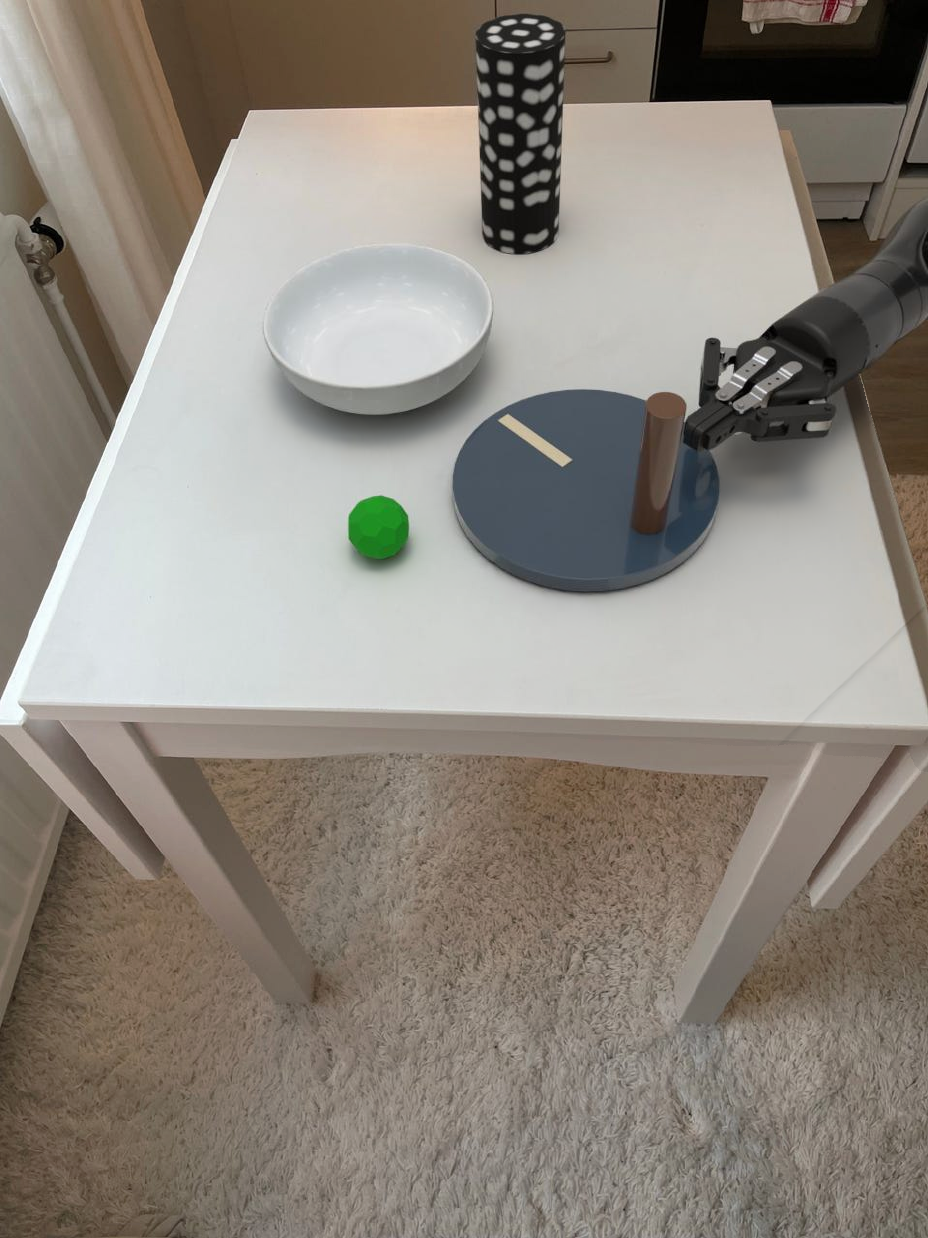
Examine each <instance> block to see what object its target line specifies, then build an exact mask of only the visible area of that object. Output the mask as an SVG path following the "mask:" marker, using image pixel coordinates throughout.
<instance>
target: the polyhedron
mask: <svg viewBox="0 0 928 1238" xmlns="http://www.w3.org/2000/svg"><path fill="white" fill-rule="evenodd" d="M347 520H348V521H347V522H348V523H347V524H348V527H347V528H348V529H347V532H348V534H347V535H348V541H349V542H350V543H351V544H352V546H353V547H354V548H355V550H357V551H358V552H359V553H360V554H361V556H364V557H368V558H371V559H374V560H379V559H380V560H381V559H386V558H389V557H393V556H395V555H397V553H398V552H400V550H401V549H402V547H403V546H404V545H405V543H406V542H407V540H408V539H409V537H410V535H409V533H410V522H409V514H408V513H407V512H406V510H405V509H404V507H403V506H402V505H401V503H399V502H397V500H395V499H394V498H391V497H388V496H385V495H382V494H381V495H374V496H370V497H367V498H364V499H362V500H361V499H360V501H359V502H358V503H357V504H356V505H355V506H354V507H353V509H352V510H351V511H350V512H349V514H348V519H347Z"/></svg>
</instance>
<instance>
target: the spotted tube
mask: <svg viewBox="0 0 928 1238" xmlns="http://www.w3.org/2000/svg"><path fill="white" fill-rule="evenodd" d="M566 34H567V33H566V27H565V26H564V25H563V24H562V23H561V22H560V21H558V20H557V19H555V18H552V17H550V16H547V15H542V14H536V13H513V14H506V15H501V16H497V17H494V18H491V19H489V20H487V21H486V22H483V23H482V24H481V25H480V26H479V27H478V28H477V30H476V32H475V62H476V63H475V65H476V86H477V87H476V88H477V89H476V91H477V92H476V93H477V118H478V121H477V122H478V123H477V124H478V148H479V151H478V152H479V179H480V203H481V204H480V206H481V232H482V238H483V240H484V242H485V244H486V245H488V246H489V247H490V248H492V249H494V250H497V251H499V252H502V253H505V254H513V255H526V254H532V253H536V252H539V251H543V250H544V249H547V248H548V247H550V246H551V245H552V244H553V243H555V241H557V239H558V236H559V234H560V233H559V231H560V203H561V201H560V200H561V176H562V146H563V118H564V117H563V116H564V91H565V90H564V89H565V88H564V87H565V63H566V62H565V60H566V57H565V56H566Z"/></svg>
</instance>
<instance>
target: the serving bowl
mask: <svg viewBox="0 0 928 1238" xmlns="http://www.w3.org/2000/svg"><path fill="white" fill-rule="evenodd" d="M493 316H494V299H493V295H492V292H491V290H490V287H489V284H488V283H487V281H486V280H485V278H484V277H483V276H482V275H481V274H480V272H479V271H478V270H477V269H475V268H474V266H472V265H471V264H469V263H468V262H466V261H465V260H463V259H462V258H460V257H458V256H456V255H454V254H451V253H449V252H446V251H443V250H440V249H437V248H435V247H429V246H425V245H422V244H421V245H420V244H412V243H403V242H402V243H400V242H399V243H398V242H397V243H395V242H389V243H387V242H386V243H373V244H372V243H371V244H365V245H359V246H354V247H350V248H345V249H341V250H338V251H335V252H332V253H330V254H327V255H324V256H321V257H320V258H317V259H315V260H313V261H311V262H309V263H308V264H306V265H304V266H303V267H301V268H299V269H298V270H296V271H295V272H294V273H293V274H291V275H290V276H289V277H288V278H286V280H285V281H283V282H282V283H281V285H279V287H277V289H276V290H275V292H274V293H273V294H272V296H271V297H270V299H269V301H268V303H267V305H266V307H265V310H264V314H263V319H262V334H263V337H264V342H265V344H266V347H267V349H268V351H269V353H270V355H271V357H272V359H273V361H274V363H275V365H276V367H277V368H278V370H279V371H280V372H281V373H282V375H283V376H284V378H285V379H286V380H287V381H288V382H289V383H290V384H291V385H292V386H293V387H294V388H296V390H298V391H299V392H300V393H302V394H303V395H305V396H306V397H308V398H309V399H311V400H313V401H314V402H317V403H319V404H320V405H323V406H326V407H329V408H332V409H335V410H337V411H341V412H345V413H350V414H359V415H372V416H373V415H376V416H377V415H381V416H382V415H391V414H399V413H402V412H407V411H411V410H414V409H417V408H421V407H423V406H426V405H428V404H431V403H433V402H435V401H436V400H438V399H440V398H442V397H444V396H445V395H447V394H449V393H450V392H452V391H453V390H454V389H455V388H456V387H457V386H459V385H460V384H461V383H462V382H464V380H466V379H467V377H468V376H469V375H470V374H471V373H472V372H473V370H474V369H475V368H476V367H477V365H478V363H479V361H480V360H481V358H482V357H483V355H484V353H485V350H486V348H487V345H488V343H489V339H490V335H491V330H492V325H493V318H494V317H493Z"/></svg>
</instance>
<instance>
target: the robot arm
mask: <svg viewBox="0 0 928 1238" xmlns="http://www.w3.org/2000/svg"><path fill="white" fill-rule="evenodd" d="M927 318H928V196H927V197H924V198H922V199H920V200H918V201H917V202H915V203H914V204H912V205H911V207H909V208H908V209H907V210H906V211H905V212H904V213H903V214H902V215H901V216H900V218H898V220H897V221H896V222H895V223H894V225H893V226H892V227H891V229H890V230H889V232H888V233H887V235H886V236H885V238H884V240H883V241H882V242H881V244H880V246H879V248H878V249H877V251H876V252H875V253H874V255H873V256H872V257H871V258H869V259H868V260H867V261H866V262H865V263H863V264H862V265H861V266H859V267H858V268H857V269H855V270H854V271H853V272H850V274H848V275H847V276H845V277H844V278H842V279H839V280H838V281H836V282H834V283H831V284H830V285H829V284H828V285H827V286H826V287H824V288H822V289H820V290H819V291H818V292H816V293H815V294H813V295H812V296H810V297H809V298H807V299H806V300H804V301H803V302H801V303H800V304H799V305H797V306H796V307H795V308H793V309H792V310H790V311H789V312H787V313H786V314H784V315H783V316H782V317H780V318H778V319H777V320H775V321H774V322H773V323H772V324H771V325H770V326H768V327H767V328H766V330H765V331H764V332H763V333H761V335H760V336H759V337H757V338H755V339H751V340H746V341H743V342H741V343H740V344H739V345H738V346H737V347H727V346H724V347H723V346H721V340H720V339H719V338H717V337H707V338H706V339H705V341H704V347H703V353H702V358H701V364H700V373H699V387H698V388H699V389H698V390H699V391H698V407H699V408H698V409H697V410H695V411H693V412H692V413H691V414H689V415H688V416H687V417H686V419H685V420H684V422H685V427H684V433H683V435H684V438H683V443H684V444H686V445H687V446H689V447H690V448H692V449H693V450H695V451H697V452H698V453H699V452H701V451H702V450H704V449H706V450H709V451H711V450H713V449H716V448H717V447H719V445H721V444H722V443H724V442H725V441H726V440H728V439H729V438H730V437H732V436H733V435H736V436H737V435H741V434H742V433H745V434H749V435H750V439H751V440H752V441H753V442H755V443H765V442H766V443H767V442H780V441H781V442H782V441H791V440H792V441H795V440H806V439H820V438H825V437H827V436H828V434H829V432H830V429H831V427H832V425H833V421H834V418H835V414H836V411H837V407H836V406H835V405H834V404H833V403H830V402H827V401H828V399H829V398H830V397H832V396H833V395H835V394H836V393H837V392H839V390H841V389H842V388H844V387H845V386H847V384H849V383H850V382H852V381H853V380H854V379H856V378H857V377H858V376H859V375H861V374H862V373H863V372H864V371H867V370H869V369H870V368H871V367H873V366H874V364H875V363H876V362H878V360H880V359H881V358H882V357H883V356H884V355H885V354H886V352H887V351H888V350H889V349H890V348H891V347H893V346H894V345H895V344H897V343H898V342H899V341H900V340H903V338H904V337H906V336H907V335H908V334H910V333H911V332H912V331H914V330H915V329H916V328H918V327H919V326H920V325H921V324H922V323H923V322H924V321H925V320H926V319H927ZM731 365H733V371H732V375H731V377H730V379H729V381H727V382H726V383H725V384H724V385H723V386H722V387H721V386H720V385H719V381H720V377H721V376H722V373H724V372H726V371H727V369H728V367H730V366H731ZM771 423H781V424H780V425H771Z"/></svg>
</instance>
